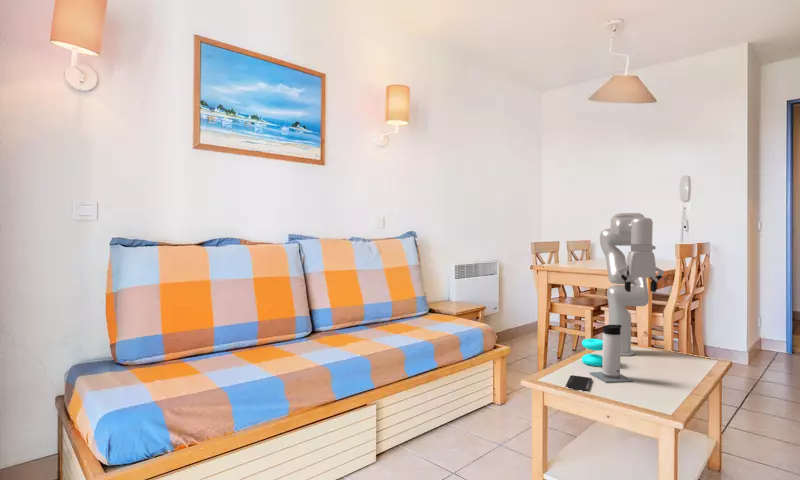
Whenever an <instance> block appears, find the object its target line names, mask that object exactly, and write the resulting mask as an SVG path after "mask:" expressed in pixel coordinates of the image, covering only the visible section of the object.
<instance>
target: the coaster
mask: <svg viewBox="0 0 800 480" xmlns="http://www.w3.org/2000/svg"><path fill="white" fill-rule="evenodd" d="M589 375H590V376H593V377H595V378H597V379H598V380H599V381H602V382H603V383H606V384H608V383H609V384H610V383H611V384H613V383H615V384H616V383H631V382H632V383H633V382H634V380H633V379H632V378H630V377H627V376H626V375H624V374H621V373H620V377H619V378H608V377H605V376H603V374H602V371H597V372H596V371H595V372H594V371H593V372H592V371H591V372H589Z"/></svg>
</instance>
